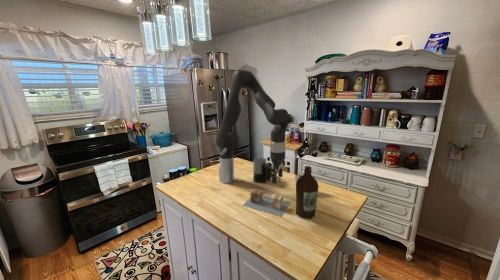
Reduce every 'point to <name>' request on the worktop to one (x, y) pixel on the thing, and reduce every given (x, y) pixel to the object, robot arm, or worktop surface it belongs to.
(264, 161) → the milk frother
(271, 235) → the worktop surface
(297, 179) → the food container
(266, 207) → the mat
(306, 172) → the olive oil
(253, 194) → the walnut block
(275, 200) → the maple block
